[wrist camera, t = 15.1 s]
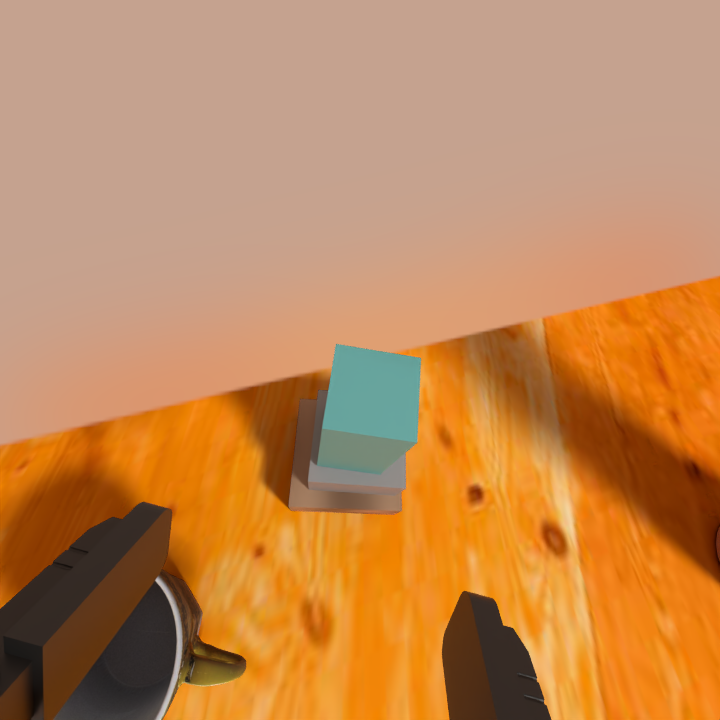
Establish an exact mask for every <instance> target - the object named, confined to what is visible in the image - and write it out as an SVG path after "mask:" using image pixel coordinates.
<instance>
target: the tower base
mask: <svg viewBox="0 0 720 720" xmlns="http://www.w3.org/2000/svg"><path fill="white" fill-rule="evenodd" d="M316 406H317V400H311V399H300V404H299V413H298V422H297V431H296V441H295V450H294V459H293V468H292V478H291V487H290V496H289V505H288V507H289V508H290V510H291V511H309V512H336V513H363V514H391V515H394V514H396V513H398V512H400V511H402V499H401V492H400V493H398V494H397V495H395V496H391V495H377V494H363V493H349V492H335V491H321V490H309V487H308V476H309V467H310V458H311V450H312V441H313V432H314V424H315V415H316Z"/></svg>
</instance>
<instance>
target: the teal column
mask: <svg viewBox="0 0 720 720" xmlns="http://www.w3.org/2000/svg"><path fill="white" fill-rule="evenodd" d="M420 366H421V358H418V357H412V356H406V355H400V354H394V353H388V352H382V351H375V350H369V349H363V348H357V347H351V346H345V345H339V344H336V348H335V354H334V360H333V366H332V372H331V378H330V384H329V390H328V396H327V402H326V408H325V414H324V420H323V426H322V432H321V440H320V447H319V454H318V462H317V466H322V467H329V468H336V469H343V470H350V471H357V472H364V473H371V474H378V475H380V474H381V473H383V472H384V471H385V470H386V469H387V468H388V467H389V466H391V465H392V464H393V463H394V462H395V461H396V460H398V459H399V458H400V457H401V456H402V455H403V454H405V453H406V452H407V451H408V450H409V449H410V448H411V447H413V446H414V445H415V444H416V443H417V433H418V411H419V388H420Z"/></svg>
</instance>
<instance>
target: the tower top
mask: <svg viewBox="0 0 720 720" xmlns="http://www.w3.org/2000/svg"><path fill="white" fill-rule="evenodd" d="M327 396H328V391H326V390H318V398H317V406H316V415H315V424H314V432H313V441H312V450H311V458H310V467H309V476H308V487H309V490H321V491H335V492H349V493H363V494H377V495H391V496H395V495H397V494H398V493H400V492H401V491H403V490H404V489H406V458H405V454H403V455H402V456H401V457H400V458H399V459H398V460H396V461H395V462H394V463H393V464H392V465H391V466H389V467H388V468H387V469H386V470H385V471H384V472H383V473H381V474H380V475H378V474H371V473H364V472H357V471H350V470H343V469H336V468H329V467H322V466H317V462H318V454H319V447H320V440H321V432H322V426H323V420H324V414H325V408H326V402H327Z"/></svg>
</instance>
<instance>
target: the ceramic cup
mask: <svg viewBox="0 0 720 720" xmlns="http://www.w3.org/2000/svg"><path fill="white" fill-rule="evenodd" d="M201 619H202V610H201V609H200V607H199V605H198V603H197V602H196V600H195V598H194V596H193V595H192V593H191V591H190V589H189V588H188V586H187V584H186V583H185V582H184V581H183V580H181V579H178V578H177V577H175V576H173V575H170V574H168V573H167V572H166V571H164V570H163V569H162V570H161V572H160V574H159V575H158V577H157V578H156V580H155V581H154V583H153V584H152V585H151V587H150V588H149V590H148V591H147V592H146V594H145V595H144V596H143V598H142V599H141V600H140V602H139V603H138V605H137V606H136V607H135V609H134V610H133V611H132V613H131V614H130V615H129V617H128V618H127V620H126V621H125V622H124V624H123V625H122V626H121V628H120V629H119V630H118V632H117V633H116V635H115V636H114V637H113V639H112V640H111V641H110V643H109V644H108V645H107V647H106V648H105V650H104V651H103V652H102V654H101V655H100V656H99V658H98V659H97V660H96V662H95V663H94V665H93V666H92V667H91V669H90V670H89V671H88V673H87V674H86V675H85V677H84V678H83V679H82V681H81V682H80V684H79V685H78V686H77V688H76V689H75V690H74V692H73V693H72V694H71V696H70V697H69V699H68V700H67V701H66V703H65V704H64V705H63V707H62V708H61V709H60V711H59V712H58V714H57V715H56V716H55V718H54V719H53V720H163V718H164V716H165V715H166V713H167V711H168V709H169V707H170V705H171V703H172V701H173V699H174V697H175V694H176V692H177V690H178V687H179V686H181V685H182V683H187V684H191V685H196V686H214V685H220V684H224V683H228V682H230V681H233V680H235V679H237V678H239V677H240V676H241V675H243V673H244V671H245V669H246V660H245V659H244V658H243V657H242V656H240V655H238V654H235V653H231V652H228V651H224V650H221V649H218V648H216V647H214V646H212V645H209V644H206V643H203V642H202V641H201V639H200V638H199V636H198V632H199V628H200V624H201Z"/></svg>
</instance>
